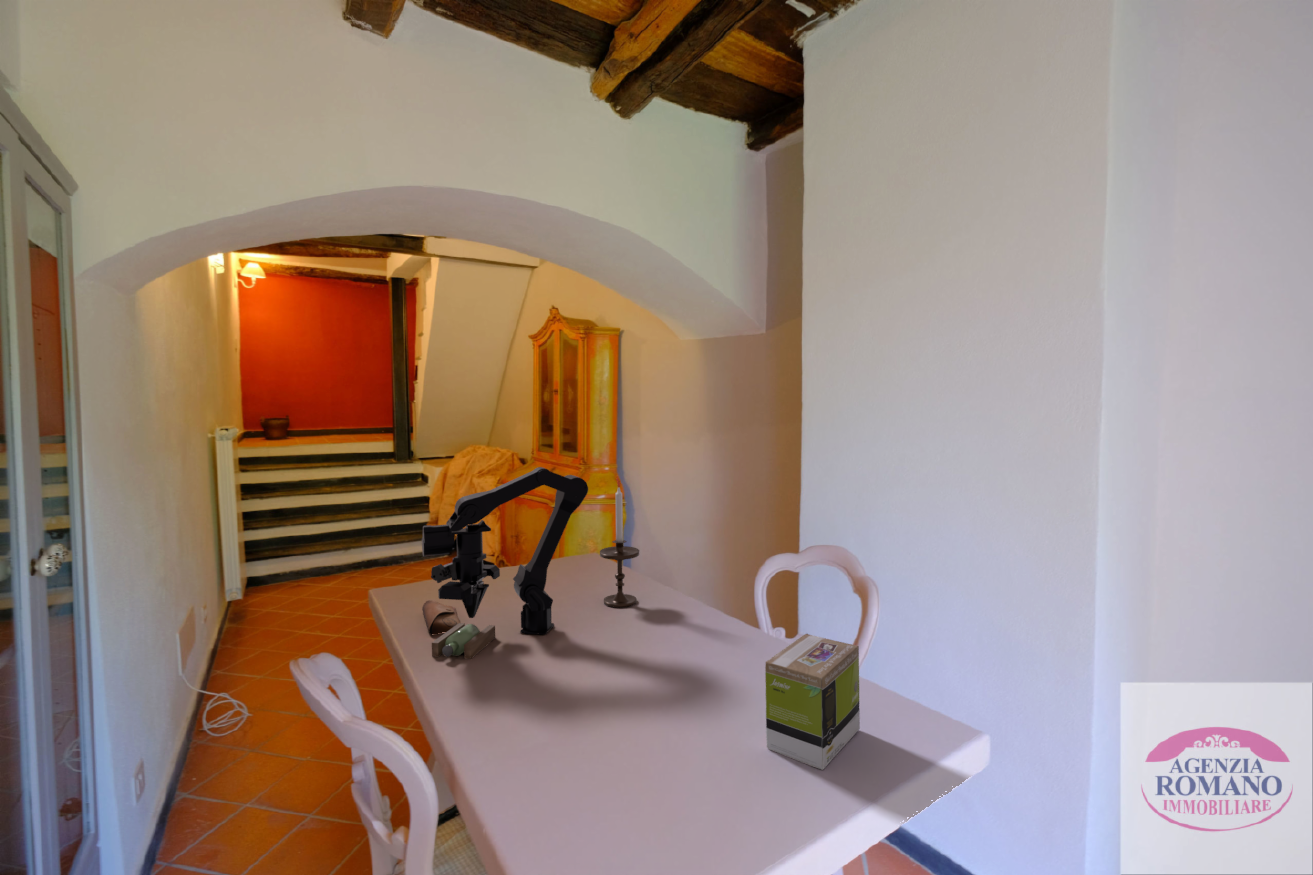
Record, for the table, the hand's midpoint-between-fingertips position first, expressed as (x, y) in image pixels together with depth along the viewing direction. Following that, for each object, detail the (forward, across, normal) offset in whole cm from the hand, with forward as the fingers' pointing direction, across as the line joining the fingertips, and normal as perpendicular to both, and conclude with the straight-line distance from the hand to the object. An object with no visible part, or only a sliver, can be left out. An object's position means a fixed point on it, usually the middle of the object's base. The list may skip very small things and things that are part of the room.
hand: (471, 617), depth 143 cm
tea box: (+6, +29, +76) cm, 81 cm away
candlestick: (+6, -32, +28) cm, 43 cm away
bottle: (+3, +1, 0) cm, 4 cm away
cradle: (+6, +4, 0) cm, 7 cm away
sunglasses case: (+6, -11, -14) cm, 18 cm away
